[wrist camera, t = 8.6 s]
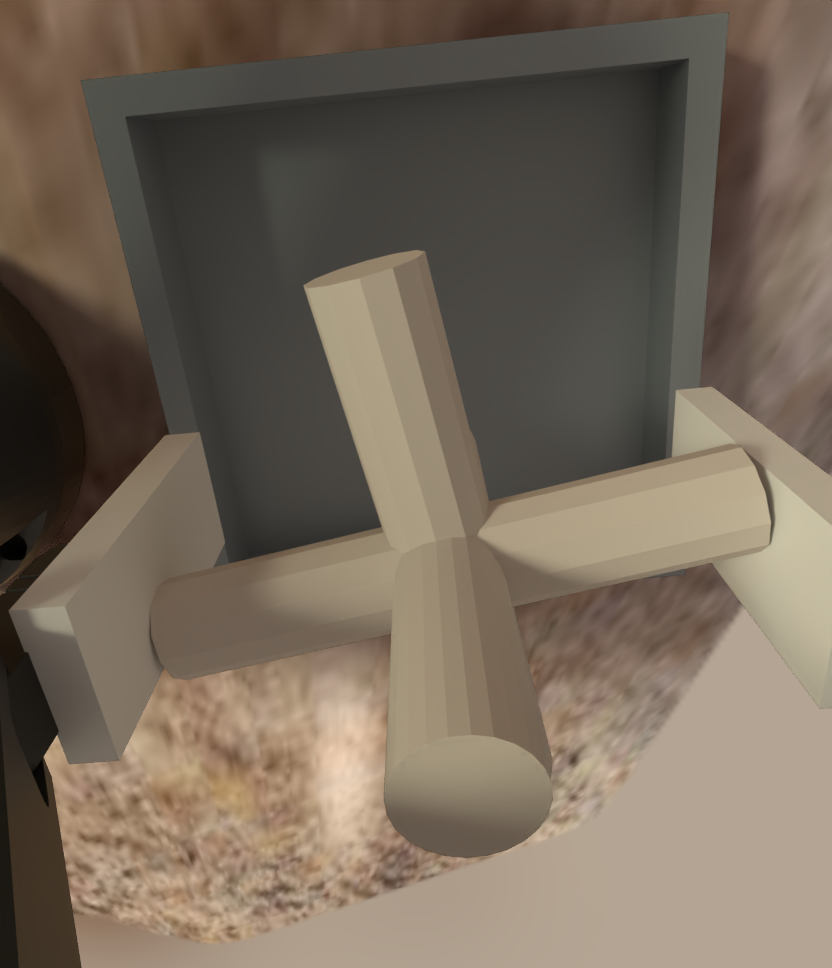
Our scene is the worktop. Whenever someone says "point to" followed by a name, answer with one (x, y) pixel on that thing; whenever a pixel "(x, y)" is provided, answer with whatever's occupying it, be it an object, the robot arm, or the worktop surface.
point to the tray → (422, 249)
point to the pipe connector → (448, 567)
